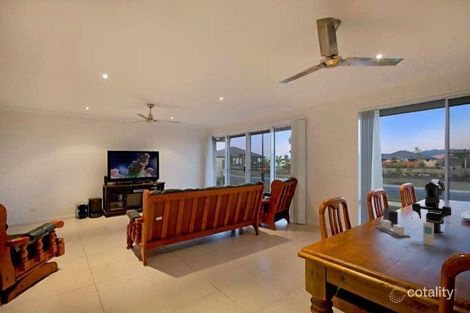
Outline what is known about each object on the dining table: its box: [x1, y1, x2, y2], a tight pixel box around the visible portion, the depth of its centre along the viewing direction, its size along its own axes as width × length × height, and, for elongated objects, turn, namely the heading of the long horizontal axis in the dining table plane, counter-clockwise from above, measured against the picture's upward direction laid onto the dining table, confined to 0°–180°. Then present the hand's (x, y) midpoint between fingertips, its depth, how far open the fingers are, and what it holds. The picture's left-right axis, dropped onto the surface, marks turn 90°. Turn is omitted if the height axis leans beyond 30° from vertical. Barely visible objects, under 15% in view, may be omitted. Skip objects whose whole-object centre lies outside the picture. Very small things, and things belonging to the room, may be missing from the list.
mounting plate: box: [375, 219, 411, 239], centre depth 158 cm, size 9×20×6 cm, turn 2°
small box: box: [382, 208, 399, 226], centre depth 179 cm, size 11×6×10 cm, turn 168°
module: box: [422, 221, 435, 247], centre depth 137 cm, size 4×4×12 cm
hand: (429, 220), depth 142 cm, fingers open, 9 cm apart
